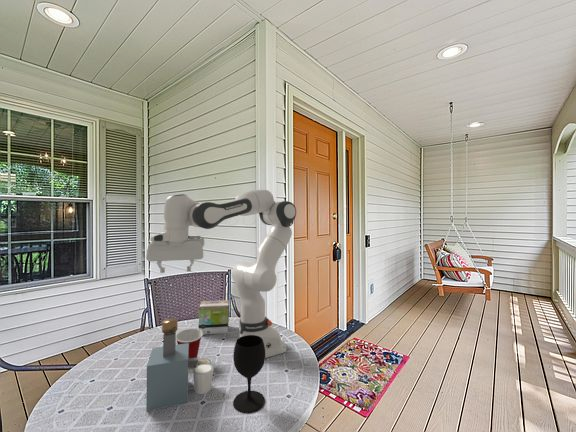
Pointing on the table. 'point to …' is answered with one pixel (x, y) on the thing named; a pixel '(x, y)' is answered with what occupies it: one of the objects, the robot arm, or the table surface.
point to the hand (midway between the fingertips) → (175, 271)
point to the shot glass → (203, 378)
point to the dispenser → (168, 374)
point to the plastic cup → (190, 340)
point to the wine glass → (249, 371)
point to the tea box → (214, 317)
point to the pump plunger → (169, 325)
